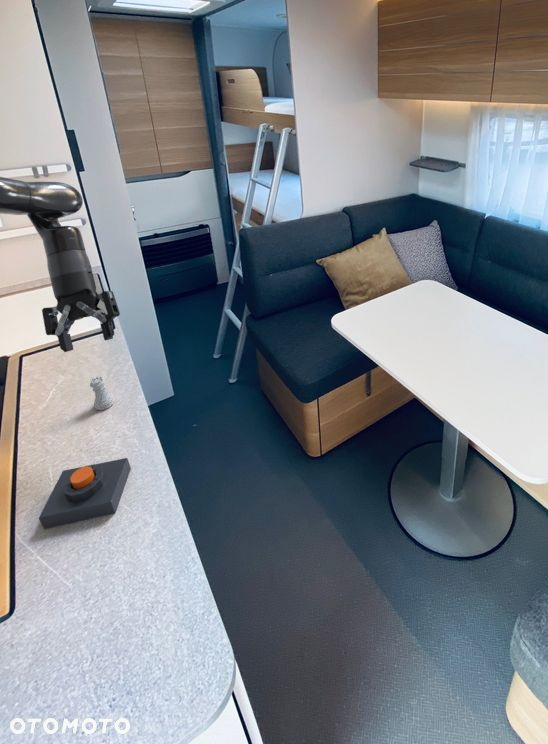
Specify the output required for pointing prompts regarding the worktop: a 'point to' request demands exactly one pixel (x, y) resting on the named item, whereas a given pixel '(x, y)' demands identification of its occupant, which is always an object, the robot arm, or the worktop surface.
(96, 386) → the rook chess piece
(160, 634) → the worktop surface
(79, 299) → the robot arm
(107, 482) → the control box
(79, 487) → the button
